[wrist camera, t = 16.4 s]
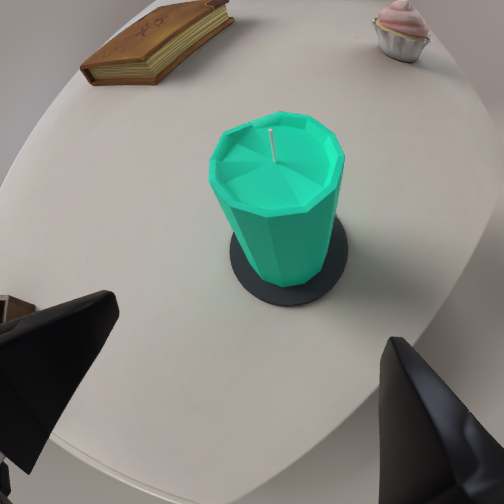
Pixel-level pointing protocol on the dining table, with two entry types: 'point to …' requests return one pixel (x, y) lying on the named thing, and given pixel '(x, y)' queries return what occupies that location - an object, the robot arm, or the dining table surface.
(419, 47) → the cupcake
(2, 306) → the holder
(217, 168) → the candle
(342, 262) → the coaster
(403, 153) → the dining table surface
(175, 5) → the diary
